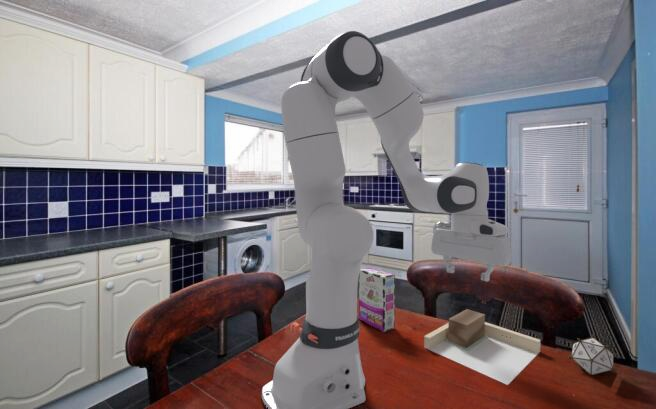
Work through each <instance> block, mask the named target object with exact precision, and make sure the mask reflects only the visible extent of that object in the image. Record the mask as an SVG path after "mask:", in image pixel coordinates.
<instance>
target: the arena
mask: <svg viewBox="0 0 656 409" xmlns="http://www.w3.org/2000/svg"><path fill="white" fill-rule="evenodd" d="M448 331H449V322H447V323H445V324H443V325H442V326H440V327H438V328H437V329H435V330H432V331H431V332H429V333H427V334H425V335H424V336H423V338H424V340H423V348H424V349H425V350H429V351H431V352H433V353H435V354H437V355H439V356H442V357H444V358H447V359H449V360H451V361H454V362H455V363H458V364H460V365H462V366H464V367H466V368H468V369H471V370H473V371H475V372H478V373H480V374H481V375H484V376H486V377H489V378H490V379H493V380H495V381H498V382H500V383H502V384H504V385H506V386H509V384H511V382H512V381H513V380H514V379H515V378H516V377H517V376H518V375H519V374H521V372H522V371H523V370H524V369H525V368H527V366H528V365H529V364H530V363H531V362H532V361H533V360H534V359H535V358H536V357H537V356H538V355H539V354H540V352H541V339H540V338H535V337H533V336H530V335H526V334H523V333H521V332H517V331H514V330H511V329H508V328H505V327H502V326H498V325H497V324H493V323H489V322H486V321H485V332H484V336H483V337H482V338H480V339H479V340H478V341H476V342H475V343H473V344H472V345H470V346H469V347H468V348H465V347H463V346H460V345H458V344H455V343H453V342H450V341H448ZM486 331H487V332H486ZM502 335H503V336H502ZM506 336H507V337H506ZM510 337H511V338H510Z"/></svg>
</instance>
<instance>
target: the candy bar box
mask: <svg viewBox="0 0 656 409" xmlns="http://www.w3.org/2000/svg"><path fill="white" fill-rule="evenodd" d="M395 290H396V275H395V274H393V273H391V272H387V271H383V270H379V269H377V268H373V267H364V268H360V273H359V278H358V304H359V305H358V310H359V311H358V313H359V314H358V317H359V319H360V320H362V321H364V322H365V323H364V322H363V323H364V324H366V323H367V325H368V324H369V326H370V325H371V326H370V327H372V326H373V328H374V329H377V330H379V331H381V332H383V333H386V332H388V331H391V330H394V329H395V327H396V326H395V325H396V323H395V321H396V315H395V314H396V310H395V309H396V303H395V302H396V300H395V299H396V291H395ZM360 320H359V321H360ZM362 321H361V322H362Z"/></svg>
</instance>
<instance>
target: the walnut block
mask: <svg viewBox="0 0 656 409" xmlns="http://www.w3.org/2000/svg"><path fill="white" fill-rule="evenodd" d="M485 320H486V314H484V313H480V312H479V311H474V310H471V309H468V308H466V309H465V310H464V309H463V310H462V311H461V312H459V313H457V314H455V315H453V316H452V317H450V318H448V323H449V331H448V341H450V342H453V343H455V344H458V345H460V346H463V347H465V348H468V347H469V346H470V345H472V344H473V343H475V342H476V341H478V340H479V339H480V338H482V337H483V336H484V332H485V322H486V321H485Z"/></svg>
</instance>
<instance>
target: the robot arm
mask: <svg viewBox="0 0 656 409" xmlns="http://www.w3.org/2000/svg"><path fill="white" fill-rule="evenodd" d="M301 74H302V75H301V77H300V81H299V82H297V83H295V84H292V85H291V86H289V87H288V88H286V89H285V91H284V92H283V94H282V96H281V102H280V103H281V119H282V127H283V128H282V129H283V134H284V135H283V136H284V141H285V146H286V150H287V155H288V159H289V166H290V168H291V174H292V180H293V184H294V198H295V208H296V217H297V227H298V231H299V232H298V233H299V234H300V237H301V239H302V241H303V242H304V243H305V244H306V245H308V246H309V247H310V249H311V262H310V268H309V274H308V277H307V279H306V281H305V300H306V301H305V303H306V304H305V305H306V306H305V308H306V310H305V311H306V315H305V317H304V321H303V322H302V324H299V323H298V322H296V321H294V322H292V323H291V325H290V327H289V328H290V331H291V332H292V333H294V334H295V335H299V336H298V337H299V338H297V340H296V341H295V342H294V343H292V345H291V346H290V348H289V349H288V350H287V351H286V352H285V353H284V354H283V355H282V356H281V358H279V360H277V362H276V364H275V366H274V370H273V376H272V380H271V381H269V382H267V383H266V384H265V385H264V386H262V389H261V400H262V402H263V404H264V406H265V405H266V406H265V408H267V407H268V409H350V408H351V409H352V408H353V407H356V406H358V405H360V404H362V403H365V401H366V391H365V385H366V378H365V375H364V374H365V373H364V372H363V366H362V361H361V354H360V347H359V339H358V338H359V337H360V331H361V330H360V329H361V328H360V327H361V326H360V320H359V314H358V286H359V273H360V269H362V264H363V260H364V257H366V256H367V255H368V253H369V252H370V250H371V248H372V246H373V242H374V230H373V227H372V224H371V222H370V221H369V219H368V218H367V217H366V216H364V214H362V213H361V212H360V211H358V209H356V208H354V207H351V206H347V205H345V204H344V191H343V190H344V179H345V176H346V164H345V159H344V154H343V150H342V144H341V139H340V133H339V130H338V129H339V128H338V124H337V120H336V106H337V104H339V103H341V102H344V101H347V100H349V99H350V98H352V97H353V98H354V99H357V101H359V102H360V103H361V104H362V105H363V106H364V108H365V110H366V112H367V114H368V116H369V117H370V119H371V121H372V122H373V125H374V126H375V128H376V130H377V132H378V134H379V135H378V136H379V137H380V144H381V147H382V150H383V152H384V155H385V157H386V159H387V161H388V162H389V165H390V167H391V169H392V171H393V173H394V175H395V177H396V179H397V182H398V184H399V186H400V191H401V196H402V200H403V202H404V204H405V206H406V207H407V208H408V209H409V210H410V211H413V212H415V213H416V212H417V213H437V214H446V215H447V214H451V217H450V218H451V219H450V220H451V221H450V222H443V221H439V222H437V223H435V224H434V225H433V227H432V228H433V229H432V239H431V240H432V241H431V244H430V245H431V247H430V249H431V250H430V251H431V252H432V253H433V255H436V256H437V255H438V256H442V261H443V262H444V264H445V267H446V273H448V274H449V273H450V274H455V268H456V266H454V265H452V262H451V260H452V258H453V259H459V260H462V261H463V260H464V261H468V262H469V261H470V262H475V263H478V264H484V265H485V269H486V271H485V272H481V273H480V280H481V281H482V282H483V281H484V282H489V281H490V277H491V274H492V273H493V271H494V270H495V269H496V267H500V268H504V267H507V266H508V265H510V264H511V262H512V245H511V241H510V238H509V237H508V236H506V235H507V234H508V233H509V228H508V226H507V225H505V224H502V223H500V222H497V221H495V220H492V219H490V218H489V210H488V207H487V204H488V201H489V197H490V181H489V180H490V178H489V173H488V170H487V167H486V166H484V165H483V164H480V163H477V162H469V161H467V162H459V163H456V165H455V166H454V168H452V170H449V171H447V172H445V173H443V174H442V175H440V174H439V175H426V174H424V173H422V172H421V171H420V170H419V168H418V166H417V163H416V161H415V159H414V157H413V154H412V152H411V150H410V141H411V140H412V139H413V137H414V136H416V134H417V133H418V132H419V130H420V129H421V127H422V124H423V121H424V116H425V115H424V108H423V106H422V103H421V101H420V100H419V98H418V96H417V94H416V92H415V90H414V88H413V87H412V86H411V83H410V82H409V81H408V79H407V77H406V76H405V74H404V73H403V72H402V70H401V69H400V68H399V67H398V65H397V64H396V63H395V62H394V60H392V59H391V58H390V57H389V56H387V55H382V54H381V52H380V51H379V49H378V48H377V46H376V45H375V43H374V42H373V41H372V40H371V39H370V38H369V37H368V36H367V35H365V34H364V33H362V32H359V31H356V30H351V31H345V32H343V33H341V34H339V35H337V36H335V37H334V38H333V39H332V40H330V42H329V43H328V44H326V45H325V46H324V47H323V48H322V49H321V50H319V51H318V52H317V53H316V54H315V55H314V57H313V58H312V59H311V60H310V62H309V63H308V64H307V65H306V66H305V67H304V69H303V72H302V73H301Z"/></svg>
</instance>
